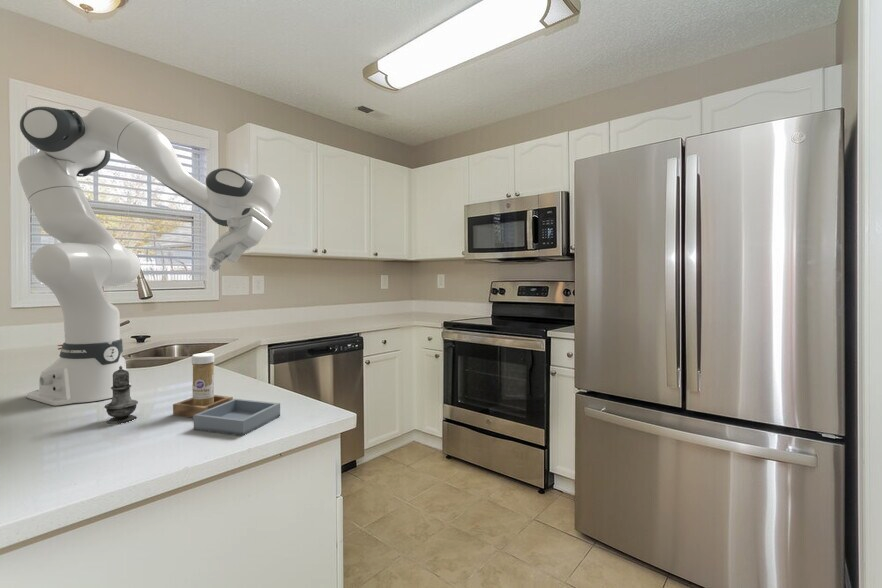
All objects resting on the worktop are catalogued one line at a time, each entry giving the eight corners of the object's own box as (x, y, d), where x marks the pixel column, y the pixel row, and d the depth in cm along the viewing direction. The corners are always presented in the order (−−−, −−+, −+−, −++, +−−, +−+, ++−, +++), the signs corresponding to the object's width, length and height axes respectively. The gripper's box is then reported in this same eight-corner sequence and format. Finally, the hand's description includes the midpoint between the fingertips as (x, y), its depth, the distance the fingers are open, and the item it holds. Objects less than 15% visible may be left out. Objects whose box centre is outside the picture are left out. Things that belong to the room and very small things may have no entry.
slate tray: (193, 429, 87) (193, 415, 87) (235, 411, 99) (235, 398, 99) (243, 435, 84) (242, 421, 84) (280, 416, 96) (280, 403, 96)
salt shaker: (120, 426, 89) (119, 369, 88) (97, 423, 90) (95, 367, 89) (145, 416, 94) (144, 363, 94) (123, 414, 96) (122, 362, 95)
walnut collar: (173, 415, 96) (172, 404, 96) (203, 403, 104) (203, 393, 104) (204, 419, 94) (204, 407, 93) (232, 407, 102) (232, 396, 102)
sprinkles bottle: (191, 415, 96) (190, 356, 95) (194, 409, 100) (193, 352, 99) (213, 413, 98) (213, 355, 97) (215, 407, 102) (215, 351, 101)
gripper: (216, 227, 117) (191, 267, 110) (256, 205, 105) (230, 248, 98) (237, 241, 121) (214, 280, 114) (276, 221, 109) (254, 263, 102)
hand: (222, 265), depth 106 cm, fingers open, 8 cm apart
